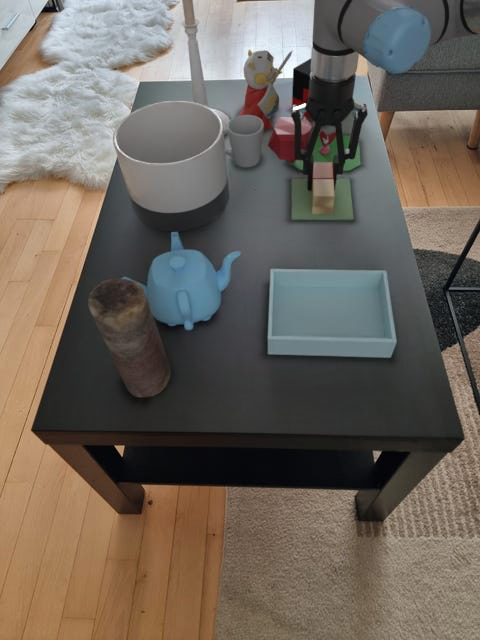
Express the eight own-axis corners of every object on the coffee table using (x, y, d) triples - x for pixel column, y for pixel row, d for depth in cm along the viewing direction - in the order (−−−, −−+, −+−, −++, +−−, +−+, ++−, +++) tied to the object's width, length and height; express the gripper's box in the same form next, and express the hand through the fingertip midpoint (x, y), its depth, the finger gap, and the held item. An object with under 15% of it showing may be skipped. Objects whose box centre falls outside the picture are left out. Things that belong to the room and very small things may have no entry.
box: (381, 287, 83) (386, 270, 79) (390, 357, 75) (396, 342, 71) (270, 285, 85) (270, 268, 81) (267, 354, 76) (267, 338, 73)
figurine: (281, 134, 111) (283, 68, 99) (233, 130, 113) (229, 65, 101) (290, 103, 118) (292, 38, 106) (245, 100, 120) (242, 36, 108)
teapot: (187, 260, 89) (177, 214, 80) (245, 295, 84) (241, 249, 75) (127, 313, 83) (109, 270, 74) (185, 354, 77) (173, 313, 68)
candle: (139, 351, 78) (104, 269, 62) (180, 363, 76) (155, 282, 60) (117, 391, 74) (73, 315, 58) (160, 405, 72) (127, 330, 56)
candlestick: (226, 108, 118) (215, -36, 94) (233, 138, 111) (222, -9, 87) (175, 115, 118) (150, -28, 94) (178, 145, 110) (152, -1, 86)
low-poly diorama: (270, 135, 111) (270, 97, 104) (358, 136, 109) (364, 98, 102) (266, 176, 102) (265, 138, 95) (361, 178, 100) (368, 140, 93)
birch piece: (331, 197, 97) (333, 179, 93) (332, 214, 94) (334, 196, 90) (311, 197, 97) (312, 179, 93) (311, 214, 94) (313, 196, 90)
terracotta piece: (330, 180, 100) (332, 162, 96) (331, 196, 97) (333, 178, 93) (310, 180, 100) (312, 162, 96) (311, 196, 97) (312, 178, 93)
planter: (151, 175, 105) (132, 97, 90) (238, 182, 102) (232, 103, 87) (123, 237, 94) (96, 160, 79) (219, 247, 91) (209, 169, 76)
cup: (264, 170, 103) (263, 135, 97) (218, 171, 104) (214, 136, 97) (264, 149, 108) (264, 114, 101) (220, 150, 109) (217, 115, 102)
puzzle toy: (318, 93, 120) (321, 51, 112) (350, 107, 116) (356, 65, 108) (291, 110, 116) (293, 68, 108) (323, 125, 112) (327, 83, 104)
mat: (349, 180, 100) (349, 178, 100) (353, 220, 93) (353, 218, 93) (291, 180, 101) (291, 178, 101) (291, 219, 94) (291, 217, 94)
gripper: (383, 59, 80) (362, 174, 99) (281, 61, 82) (279, 174, 101) (388, 82, 76) (365, 198, 95) (280, 84, 77) (278, 198, 96)
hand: (321, 185), depth 98 cm, fingers closed on terracotta piece, 4 cm apart
